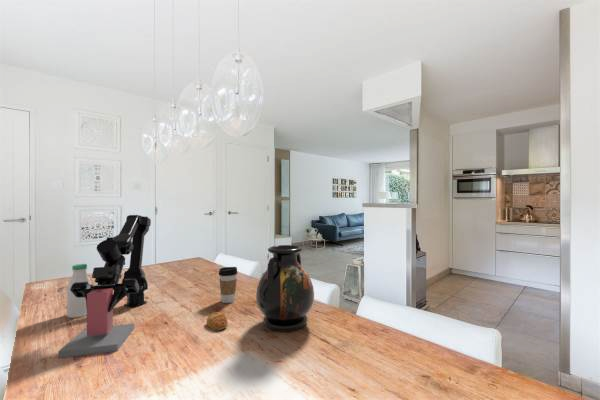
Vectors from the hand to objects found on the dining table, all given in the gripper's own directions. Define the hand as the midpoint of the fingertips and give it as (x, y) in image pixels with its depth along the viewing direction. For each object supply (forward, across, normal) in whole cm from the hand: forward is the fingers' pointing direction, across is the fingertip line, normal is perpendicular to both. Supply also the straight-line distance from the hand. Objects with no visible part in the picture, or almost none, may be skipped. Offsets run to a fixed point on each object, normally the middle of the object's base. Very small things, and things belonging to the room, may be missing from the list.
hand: (98, 312), depth 87 cm
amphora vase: (+7, +60, +7) cm, 61 cm away
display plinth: (+6, 0, +8) cm, 10 cm away
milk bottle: (-13, -18, +28) cm, 36 cm away
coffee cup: (-14, +40, +28) cm, 51 cm away
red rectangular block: (+4, 0, +6) cm, 7 cm away
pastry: (+4, +36, +11) cm, 38 cm away
